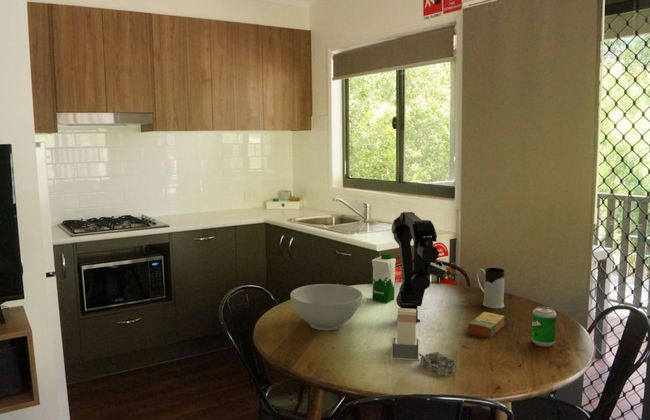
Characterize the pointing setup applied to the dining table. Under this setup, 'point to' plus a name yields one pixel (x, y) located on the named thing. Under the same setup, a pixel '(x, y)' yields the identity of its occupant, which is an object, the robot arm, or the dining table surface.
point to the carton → (486, 324)
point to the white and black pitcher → (493, 287)
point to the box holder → (406, 350)
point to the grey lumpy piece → (443, 363)
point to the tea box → (406, 326)
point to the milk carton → (383, 278)
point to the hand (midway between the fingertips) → (420, 299)
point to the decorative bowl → (326, 304)
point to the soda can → (543, 326)
